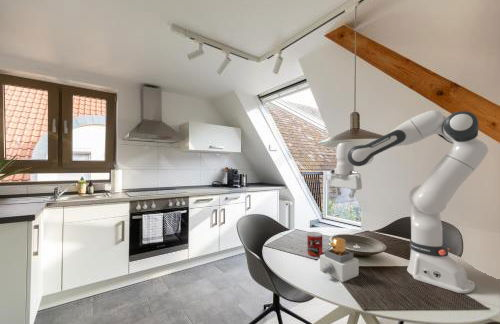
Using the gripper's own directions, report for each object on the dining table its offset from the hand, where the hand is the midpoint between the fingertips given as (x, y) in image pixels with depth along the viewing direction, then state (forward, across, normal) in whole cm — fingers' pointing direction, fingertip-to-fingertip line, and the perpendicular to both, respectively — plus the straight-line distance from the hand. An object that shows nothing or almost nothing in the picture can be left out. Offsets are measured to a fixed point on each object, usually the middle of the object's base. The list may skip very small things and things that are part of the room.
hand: (345, 196), depth 126 cm
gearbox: (+31, -17, +21) cm, 41 cm away
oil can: (+24, -17, +20) cm, 36 cm away
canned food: (+31, +5, +16) cm, 36 cm away
